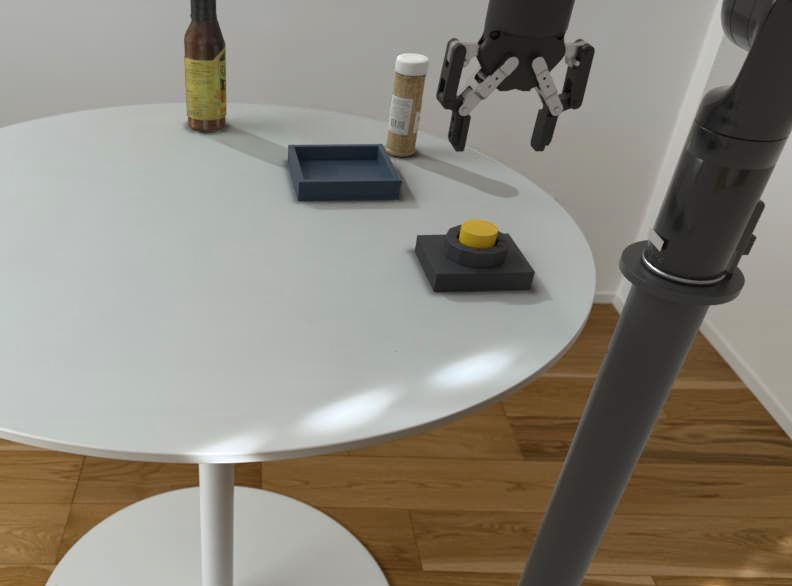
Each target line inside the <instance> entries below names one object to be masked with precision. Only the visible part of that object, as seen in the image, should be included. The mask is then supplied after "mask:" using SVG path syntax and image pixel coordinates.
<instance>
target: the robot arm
mask: <svg viewBox="0 0 792 586" xmlns="http://www.w3.org/2000/svg"><path fill="white" fill-rule="evenodd" d="M575 3H576V0H488V4H487V10H486V15H485V20H484V26H483V32H482V35H481V36H480V38H479V39H478V41H477V42H466V41H460V40H459V39H458V38H456V37H452V38H450V39H448V41H447V42H446V43H447V44H446V48H445V53H444V58H443V62H442V66H441V70H440V76H439V80H438V84H437V89H436V94H435V98H436V100H437V101H438V103H439V104H440V106H441V107H442V108H443V109H444V110H449V111H451V116H450V121H449V127H448V132H447V140H448V142H449V143H450V145H451V146H452V148H453V150H454V151H455V152H458V153H459V152H461V153H463V152H464V151H465V150H466V143H467V138H468V134H469V129H470V125H471V120H472V116H471V115H470V114H471V113H472V111H473V110H474V109H475V108H476V107H477V106H478V105H479V104H480V103H481V102H482V101H483V100H486V99H488V97H490V95H491V94H493V92H494V91H495V90H497V91H499V92H509V91H513V90H517V91H521V92H531V90H532V89H534V90H535V92H536V93H537V96H538V98H539V100H540V103H541V105H542V108H538V112H537V115H536V119H535V122H534V126H533V131H532V134H531V138H530V147H531V148H532V149H533V150H534V151H535V152H544V151H545V149H546V146H547V147H549V146H550V144H551V143H552V140H553V137H554V134H555V131H556V130H555V129H556V127H557V122H558V119H559V116H560V115H561V114H562V113H563V112H566V111H568V110H578V109H580V108H581V107H582V105H583V102H584V98H585V94H586V90H587V85H588V81H589V77H590V74H591V69H592V65H593V61H594V57H595V54H596V49H595V47H594V46H592V44H590V43H589V42H587V41H586V40H585V39H583V38H577V39H576V40H574V42H565V35H566V33H567V31H568V29H569V26H570V21H571V18H572V13H573V10H574V7H575ZM720 22H721V27H722V31H723V33H724V35H725V37H726V38H727V39H728V40H729V41H730V42H731V43H732V44H733V45H735V46H737V47H739V48H740V49H742V50H744V51H746V52H747V55H746V57H745V59H744V61H743V63H742V66H741V68H740V69H739V72H738V74H737V76H736V78H735V80H734V82H733V83H732V84H731V85H729V84H728V85H720V86H716V87H713V88H711V89H709V90H708V91H707V92H705V94H704V95H703V96H702V98H701V101H700V103H699V106H698V108H697V111H696V113H695V116H694V119H693V121H692V124H691V127H690V129H689V132H688V135H687V137H686V140H685V143H684V145H683V148H682V150H681V153H680V156H679V158H678V161H677V164H676V166H675V169H674V172H673V175H672V177H671V179H670V182H669V185H668V188H667V190H666V193H665V195H664V198H663V200H662V203H661V206H660V209H659V211H658V214H657V217H656V219H655V221H654V224H653V227H652V226H650V227H649V230H648V232H647V235H646V238H647V240H648V242H647V244H646V248H645V249H644V250H643V253H642V256H641V262H642V264H643V265H644V267H645V268H646V269H647V270H649V271H650V272H651V273H653V274H654V275H656V276H658V277H660V278H662V279H665V280H667V281H670V282H673V283H677V284H681V285H687V286H696V287H705V286H712V285H716V284H718V283H720V282H722V281H723V280H724V279H731V278H732V276H733V274H734V272H735V270H736V268H737V267H739V264H740V261H741V260H742V257H743V256H749V255H750V253H751V250H752V249H753V246H754V244H755V243H756V241H757V236H756V235H755V234H754V231H755V230H756V227H757V225H758V223H759V221H760V219H761V217H762V214H763V213H764V210H765V208H766V203H765V202H764V201H763V199H761V198H762V196H763V193H764V191H765V189H766V188H767V185H768V183H769V181H770V178H771V176H772V174H773V172H774V170H775V168H776V166H777V163H778V161H779V159H780V156H781V155H782V152H783V150H784V148H785V146H786V144H787V142H788V140H789V137H790V135H791V134H792V0H722V3H721V9H720ZM474 57H475V58H476V60H477V61H478V64H479V67H478V68H476V70H475V71H474V72H473V73H472V74H471V75H470V76H469V78H468V79H467V80H466V83H465V86H463V88H461V90H460V91H459V92H458V90H459V86H460V80H461V77H462V73H463V68H466V67H467V66H468V65H469V64H470V62H471V60H472V59H473V58H474ZM563 59H564V63H565V65H567V67H566V73H565V76H564V82H563V85H562V90H561V93H558V88H557V87H556V84H555V82H554V80H553V78H552V75H551V72H552V71H553V69H555V67H557V65H558V64H559V63H560V62H561V61H562V60H563Z"/></svg>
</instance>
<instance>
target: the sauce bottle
mask: <svg viewBox="0 0 792 586" xmlns="http://www.w3.org/2000/svg"><path fill="white" fill-rule="evenodd" d="M217 14H218V13H217V0H190V14H189V16H190V19H191V20H190V23H189V25H188V26H187V28H186V30H185V33H184V37H183V44H184V56H183V62H184V63H183V64H184V85H185V104H186V105H185V106H186V117H187V124H188V126H189V127H190V128H191V129H192V130H195V131H199V132H213V131H215V132H216V131H218V130H220V129H223V128H224V127H225V125H226V124H227V123H226V122H227V119H226V117H227V53H226V52H227V51H226V50H227V48H226V42H225V41H226V40H225V38H224V35H223V33H222V29H221V26H220V23H219V19H218V15H217Z"/></svg>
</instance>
